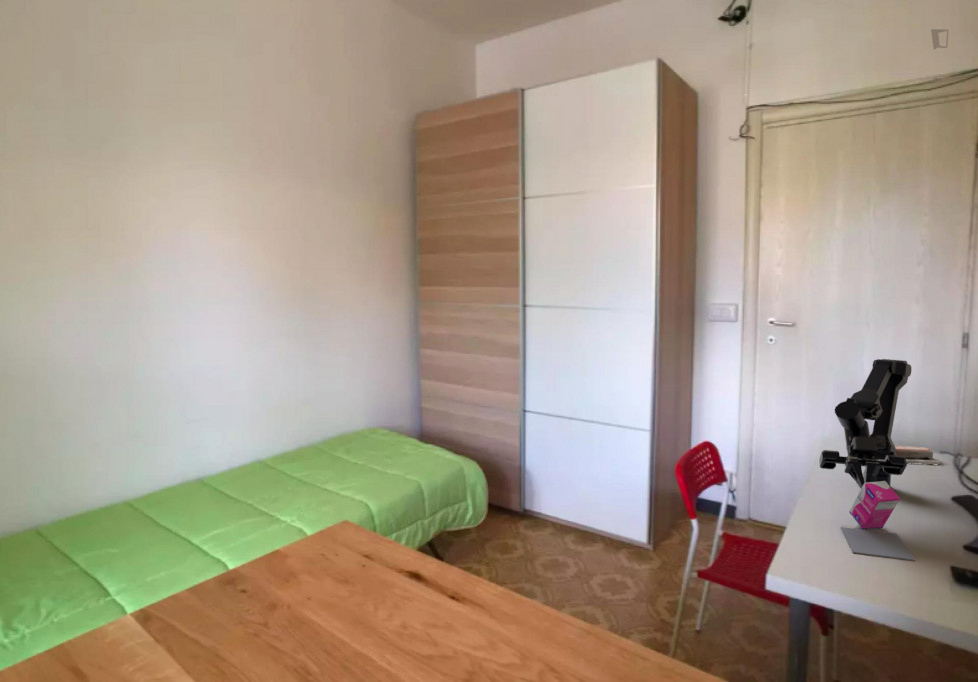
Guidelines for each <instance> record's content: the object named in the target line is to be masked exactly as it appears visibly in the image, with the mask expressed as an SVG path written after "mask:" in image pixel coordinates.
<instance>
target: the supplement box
mask: <svg viewBox="0 0 978 682" xmlns="http://www.w3.org/2000/svg"><path fill="white" fill-rule="evenodd" d="M890 486H891V485H890ZM890 486H889V485H888V484H887V483H886V481H879V482H867V483H864V485H863V487H862V489H861V488H860V490H859V492H858V495H857V497H856V498H855V500H854V502H853V504H852V506H851V508H850V509H849V510H848V512H849V514H850V515H851V516H852V518H853V519H854V520H855V522H856V523H857V524H858V526H859V527H860V529H864V530H873V529H874V530H875V529H883V528H884V527H885V524H886V523H887V521H888V519H889V518H890V516H891V514H892V513H893V511H894V510H895V508H896V507H897V505H898V503H899V501H900V499H901V497H900V496H898V494H897V493H896V492H895V490H894V491H893V490H892V488H893V487H892V486H891V487H892V488H891V487H890Z"/></svg>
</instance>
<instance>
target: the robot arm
mask: <svg viewBox="0 0 978 682" xmlns="http://www.w3.org/2000/svg"><path fill="white" fill-rule="evenodd" d="M911 375H912V365H911V364H909V363H908V361H907V360H901V359H900V360H899V359H889V358H888V359H887V358H882V359H880V358H879V359H878V358H877V359H874V360H873V362H872V368H871V370H870V372H869V375H868V376H867V378H866V380H865V382H864V384H863V386H862V388H861V389H859V391H856V392H854V393H853V394H852V395H851V397H847V398H846V400H845V401H841V402H840V403H838V404H837V405H836V406H835V407H834V414H835V415H836V418H837V420H838V421H839V423H840V425H841V427H842V428H843V430H844V438H845V448H846V453H847V456H841V454H840V452H839V451H838V450H829V449H823V450H822V451H821V453H820V457H819V461H818V462H819V468H821V469H824V470H834V469H835V468H836V467H837V464H839V465H844V467H845V469H844V473H845V474H848V475H849V476H850V477H851V478H852V479H853V480H854V481H855V483H856V484H857V485H858V487H859V488H860V490H861V489H862V487H863V485H864V483H867V482H879V481H886V483H887V484H888V485H889V486H890V487H891V488H892V490H893V491H894V492H895V489H894V488H893V487H892V486H891V479H892V475H893V476H894V475H895V476H901V475H903V473H904V471H905V470H906V468H907V466H908V464H907V463H906V459H905V458H904V457H903V456H897V454H896V452H895V449H896V448H895V446H896V445H895V443H894V441H893V440H892V432H893V426H894V421H895V414H896V409H897V402H898V398H899V393H900V390H901V389H902V388H903V387H905V386H906V385H907V383H908V380H909V377H911ZM868 420H869V421H874V423H873V429H872V433H871V434H870V429H869V428H870V427H869V423H868ZM862 467H864V470H863V468H862Z"/></svg>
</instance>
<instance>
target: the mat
mask: <svg viewBox="0 0 978 682" xmlns="http://www.w3.org/2000/svg"><path fill="white" fill-rule="evenodd" d="M840 530H841V533H843V536H844V538H845V540H846V542H847V543H848V546H849V548H850V550H851V552H852V554H858V555H865V556H872V555H874V556H873V557H881V558H887V559H888V558H889V559H895V560H905V561H912V562H915V561H916V559H915V557H914V556H913V555H912V553H911V552H910V551H909V549H908V548H907V546H906V544H904V542H903V541H902V539H901V537H900V536H899V535H898V533H897V532H888V531H879V530H873V529H861V528H852V527H844V526H840Z"/></svg>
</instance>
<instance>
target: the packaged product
mask: <svg viewBox="0 0 978 682" xmlns="http://www.w3.org/2000/svg"><path fill="white" fill-rule="evenodd" d="M895 448H896V449H895V452H896V454H897V456H903V457H904V458H905V459H906V463H922V464H921V465H924V464H939V465H940V463H941V462H940V461H939V460H937V459H935V458H934V457H933V455H934V452H933V451H932V449H931V448H930V447H928V448H927V447H923V446H921V447H920V446H909V445H908V446H907V445H905V446H904V445H895Z"/></svg>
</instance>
